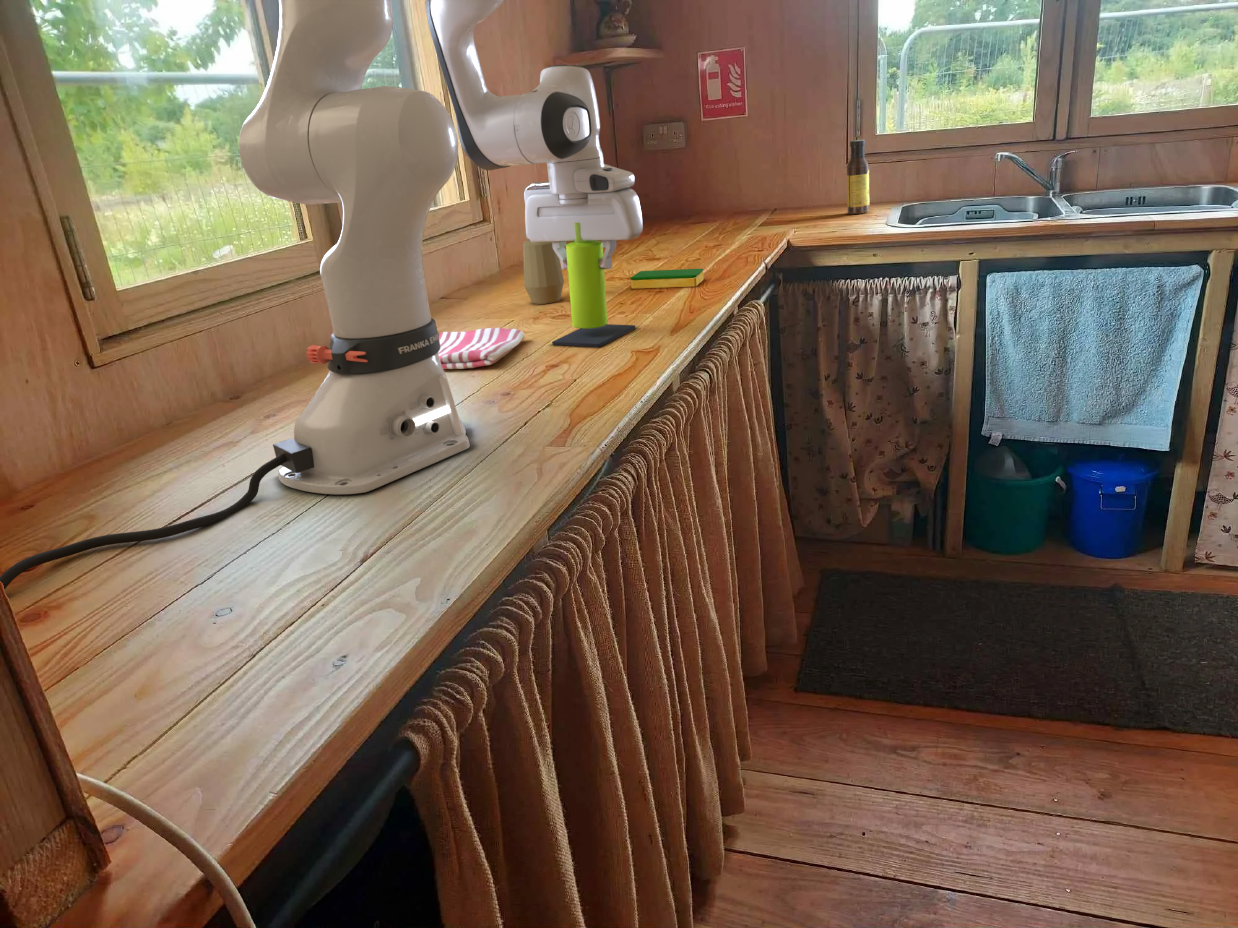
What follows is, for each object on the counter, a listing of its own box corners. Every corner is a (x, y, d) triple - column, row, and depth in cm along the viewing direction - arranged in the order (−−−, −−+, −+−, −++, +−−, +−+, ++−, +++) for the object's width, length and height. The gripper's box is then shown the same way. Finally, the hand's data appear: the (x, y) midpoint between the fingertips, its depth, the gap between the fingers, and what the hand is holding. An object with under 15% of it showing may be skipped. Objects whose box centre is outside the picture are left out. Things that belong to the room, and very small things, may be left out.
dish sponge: (640, 282, 186) (639, 270, 185) (704, 279, 182) (703, 268, 181) (630, 289, 180) (629, 277, 179) (696, 287, 175) (695, 275, 175)
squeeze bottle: (574, 297, 178) (563, 206, 171) (550, 306, 172) (538, 212, 165) (542, 296, 182) (531, 207, 175) (518, 305, 176) (505, 213, 169)
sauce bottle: (873, 212, 251) (874, 139, 244) (856, 215, 249) (856, 141, 241) (859, 211, 257) (860, 139, 249) (842, 213, 254) (842, 141, 247)
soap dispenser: (609, 328, 141) (601, 200, 133) (568, 328, 142) (557, 202, 134) (616, 319, 146) (609, 195, 138) (576, 319, 148) (567, 197, 140)
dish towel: (398, 347, 152) (395, 327, 151) (527, 340, 147) (524, 320, 146) (355, 376, 136) (350, 354, 135) (497, 369, 132) (494, 347, 131)
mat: (599, 347, 138) (598, 343, 138) (552, 345, 143) (551, 341, 142) (635, 328, 148) (635, 325, 147) (590, 327, 152) (590, 323, 152)
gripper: (511, 185, 138) (523, 272, 144) (623, 178, 128) (631, 272, 133) (534, 180, 143) (545, 265, 148) (643, 173, 133) (650, 265, 138)
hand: (587, 269), depth 141 cm, fingers closed on soap dispenser, 6 cm apart
